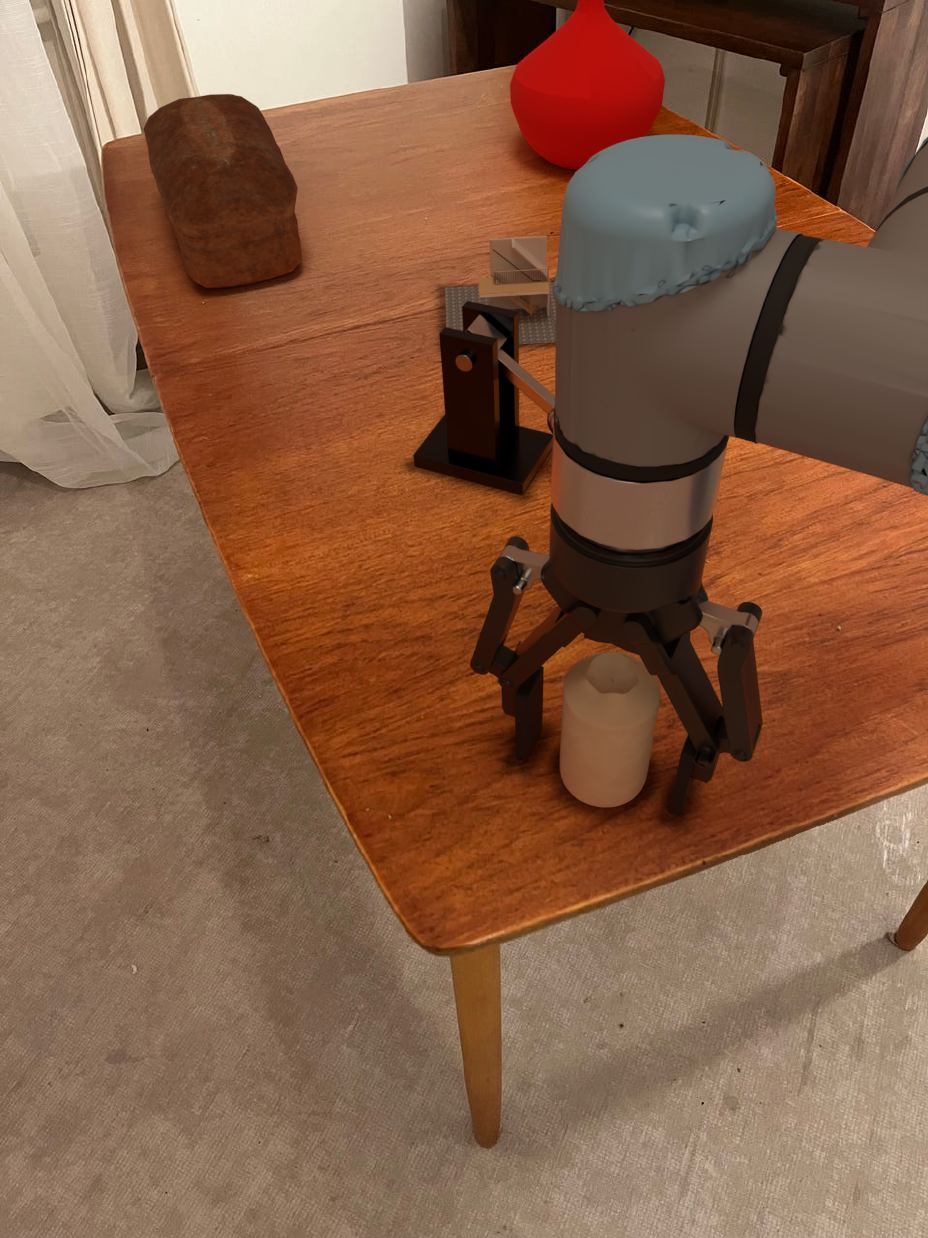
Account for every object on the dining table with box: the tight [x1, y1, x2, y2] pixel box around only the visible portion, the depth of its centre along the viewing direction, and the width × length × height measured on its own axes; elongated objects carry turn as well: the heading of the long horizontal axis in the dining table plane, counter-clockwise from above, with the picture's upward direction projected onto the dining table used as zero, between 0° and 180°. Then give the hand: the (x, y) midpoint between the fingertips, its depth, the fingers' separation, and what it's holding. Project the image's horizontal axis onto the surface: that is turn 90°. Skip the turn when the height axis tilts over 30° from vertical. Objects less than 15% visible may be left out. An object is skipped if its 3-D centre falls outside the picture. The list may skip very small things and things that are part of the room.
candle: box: [559, 651, 662, 808], centre depth 58 cm, size 6×6×10 cm
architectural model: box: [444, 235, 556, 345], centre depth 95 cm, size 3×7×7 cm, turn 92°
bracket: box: [412, 301, 553, 495], centre depth 79 cm, size 10×7×13 cm
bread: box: [143, 93, 303, 289], centre depth 108 cm, size 14×28×12 cm, turn 19°
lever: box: [466, 315, 555, 434], centre depth 76 cm, size 12×3×3 cm
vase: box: [509, 0, 666, 171], centre depth 116 cm, size 18×18×19 cm
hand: (603, 769), depth 62 cm, fingers open, 9 cm apart
